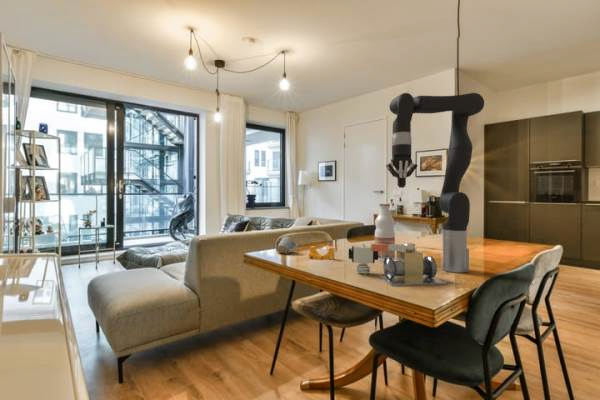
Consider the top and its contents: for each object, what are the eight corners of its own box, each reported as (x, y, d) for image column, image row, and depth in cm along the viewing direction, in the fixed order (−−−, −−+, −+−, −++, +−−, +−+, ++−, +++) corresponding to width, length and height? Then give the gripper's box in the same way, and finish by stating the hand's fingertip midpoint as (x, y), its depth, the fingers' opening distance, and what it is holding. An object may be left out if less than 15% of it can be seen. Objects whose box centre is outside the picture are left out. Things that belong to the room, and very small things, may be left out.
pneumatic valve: (378, 275, 125) (378, 245, 125) (348, 273, 128) (348, 244, 128) (377, 272, 131) (377, 243, 131) (349, 270, 133) (349, 242, 133)
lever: (416, 251, 117) (416, 244, 117) (372, 251, 116) (372, 244, 116) (412, 249, 121) (412, 243, 121) (369, 249, 120) (369, 243, 120)
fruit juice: (370, 261, 154) (370, 203, 154) (383, 259, 159) (383, 203, 159) (385, 264, 146) (386, 204, 146) (398, 262, 152) (398, 204, 152)
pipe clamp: (308, 260, 157) (308, 247, 157) (311, 258, 161) (311, 246, 161) (331, 262, 152) (331, 248, 152) (334, 260, 156) (334, 247, 156)
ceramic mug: (281, 257, 171) (273, 247, 170) (288, 248, 177) (280, 237, 176) (294, 253, 164) (285, 242, 163) (301, 243, 170) (292, 232, 169)
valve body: (427, 275, 125) (427, 248, 125) (446, 284, 112) (446, 253, 112) (378, 277, 122) (379, 249, 122) (392, 286, 110) (392, 255, 109)
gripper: (412, 146, 132) (412, 188, 132) (382, 146, 131) (382, 187, 131) (421, 143, 125) (421, 187, 125) (389, 142, 123) (389, 187, 123)
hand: (401, 187), depth 128 cm, fingers closed
